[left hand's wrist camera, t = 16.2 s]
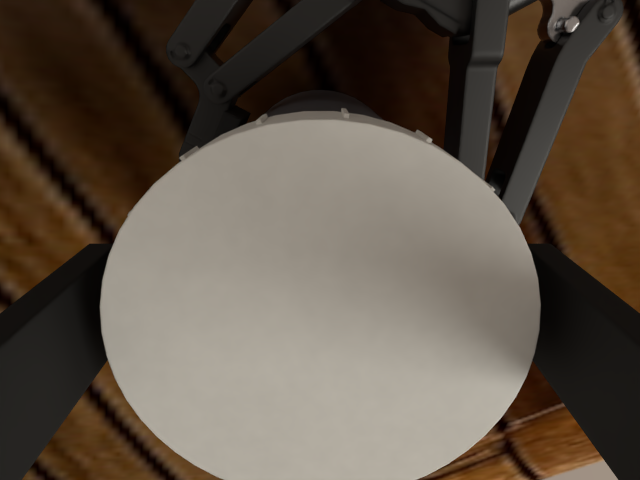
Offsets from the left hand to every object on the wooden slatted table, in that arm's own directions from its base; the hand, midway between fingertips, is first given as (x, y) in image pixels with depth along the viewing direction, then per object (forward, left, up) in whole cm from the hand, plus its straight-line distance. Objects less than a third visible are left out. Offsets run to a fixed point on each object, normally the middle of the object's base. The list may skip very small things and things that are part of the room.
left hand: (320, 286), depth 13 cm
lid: (0, 0, +3) cm, 3 cm away
